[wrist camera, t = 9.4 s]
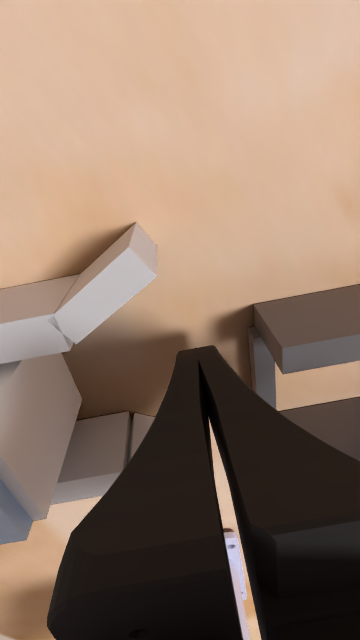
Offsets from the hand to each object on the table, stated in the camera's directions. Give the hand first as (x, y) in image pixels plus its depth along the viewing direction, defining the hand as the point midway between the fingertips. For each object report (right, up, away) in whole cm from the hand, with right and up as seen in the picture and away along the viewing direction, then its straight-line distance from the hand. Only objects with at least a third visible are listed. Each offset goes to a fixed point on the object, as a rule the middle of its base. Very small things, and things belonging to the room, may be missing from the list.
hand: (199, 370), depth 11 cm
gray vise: (+6, -3, +4) cm, 8 cm away
